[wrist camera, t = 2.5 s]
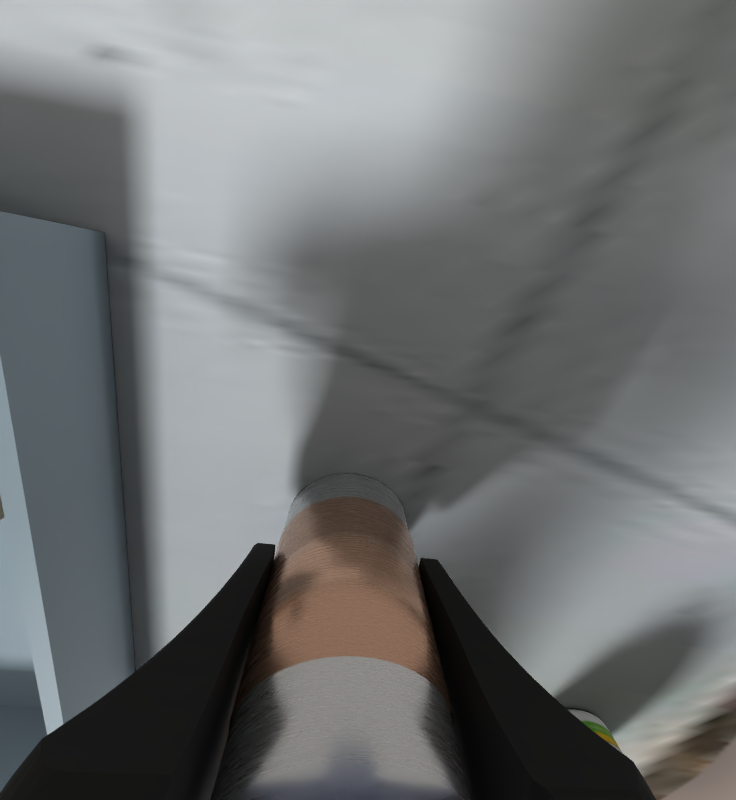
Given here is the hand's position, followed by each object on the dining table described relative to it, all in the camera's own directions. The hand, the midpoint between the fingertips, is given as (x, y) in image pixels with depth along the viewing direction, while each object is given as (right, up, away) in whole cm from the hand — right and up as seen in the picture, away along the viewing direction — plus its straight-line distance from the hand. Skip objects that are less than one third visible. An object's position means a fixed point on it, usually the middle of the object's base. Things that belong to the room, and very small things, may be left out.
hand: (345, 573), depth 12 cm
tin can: (0, +1, +2) cm, 3 cm away
